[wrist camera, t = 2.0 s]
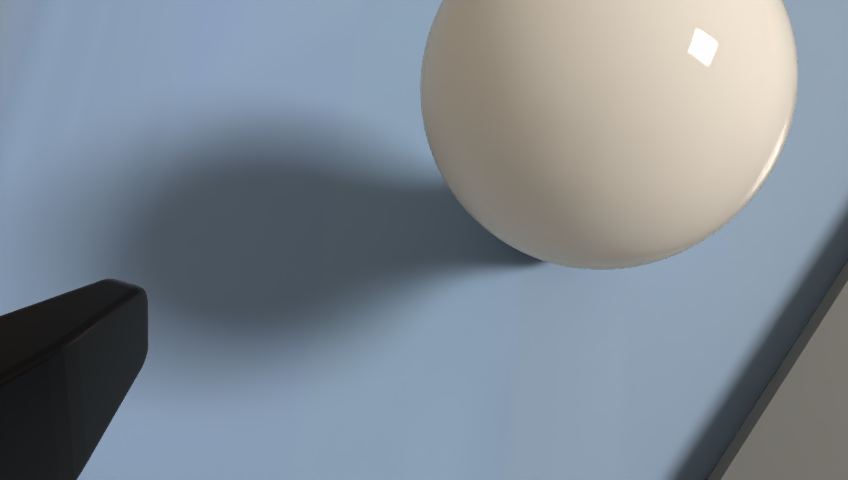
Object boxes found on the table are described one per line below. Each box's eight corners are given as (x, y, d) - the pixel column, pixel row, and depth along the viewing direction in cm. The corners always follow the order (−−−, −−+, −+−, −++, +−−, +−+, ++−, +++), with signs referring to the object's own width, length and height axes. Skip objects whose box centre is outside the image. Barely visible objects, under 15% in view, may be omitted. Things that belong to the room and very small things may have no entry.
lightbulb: (400, 151, 22) (351, -122, 12) (611, 78, 23) (750, -251, 12) (480, 367, 21) (508, 277, 10) (707, 284, 21) (963, 115, 10)
